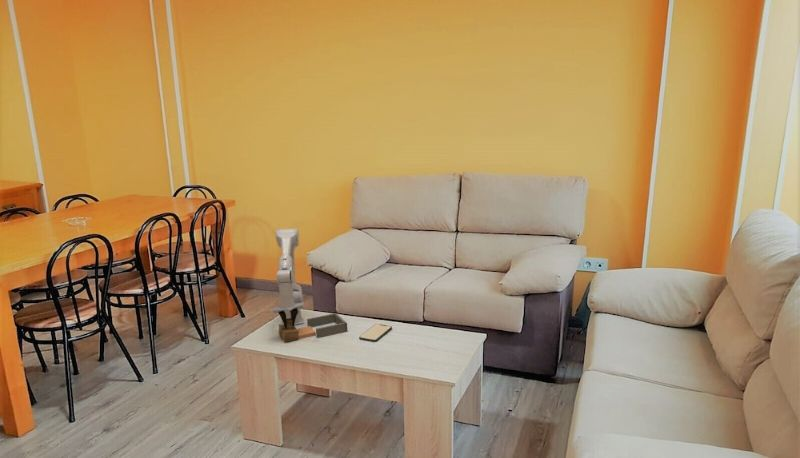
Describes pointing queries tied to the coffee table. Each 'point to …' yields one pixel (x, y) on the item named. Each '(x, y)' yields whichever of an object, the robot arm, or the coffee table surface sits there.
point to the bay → (328, 330)
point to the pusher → (288, 331)
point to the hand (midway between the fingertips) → (289, 326)
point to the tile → (306, 332)
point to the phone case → (375, 333)
